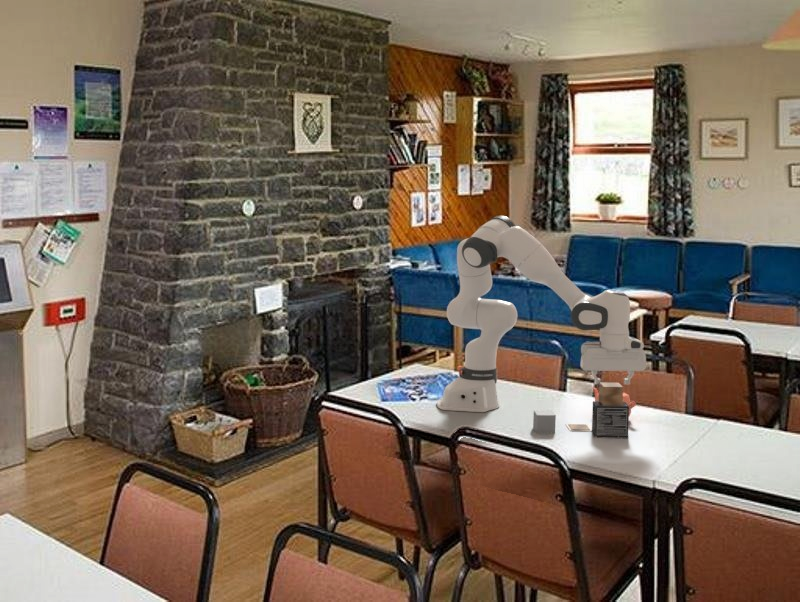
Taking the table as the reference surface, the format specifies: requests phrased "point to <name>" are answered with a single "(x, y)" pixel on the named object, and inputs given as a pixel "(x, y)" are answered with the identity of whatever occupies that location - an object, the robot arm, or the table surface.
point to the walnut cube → (610, 394)
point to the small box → (610, 420)
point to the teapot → (625, 399)
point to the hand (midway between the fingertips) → (612, 384)
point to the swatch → (578, 427)
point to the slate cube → (544, 421)
